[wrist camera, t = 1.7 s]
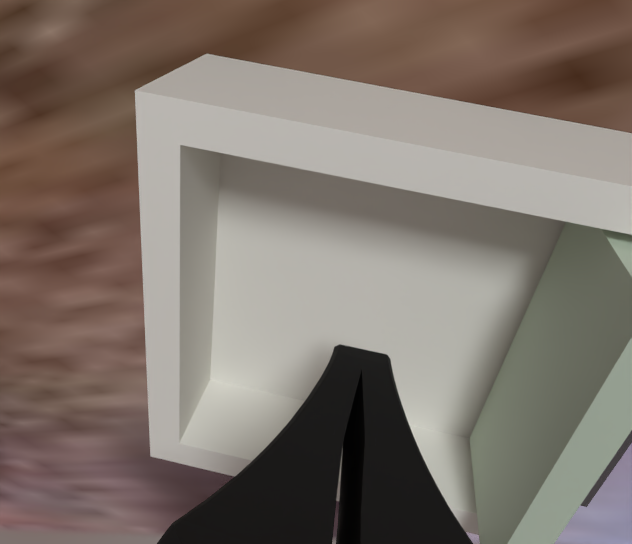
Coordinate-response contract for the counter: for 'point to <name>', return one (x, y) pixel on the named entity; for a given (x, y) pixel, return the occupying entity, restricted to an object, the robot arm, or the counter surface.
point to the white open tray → (345, 250)
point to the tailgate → (559, 394)
